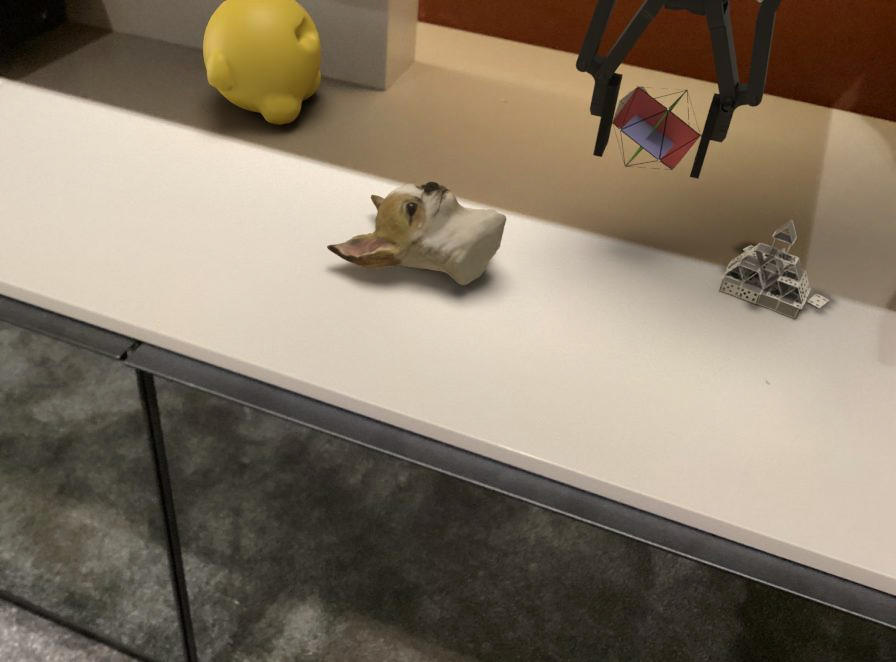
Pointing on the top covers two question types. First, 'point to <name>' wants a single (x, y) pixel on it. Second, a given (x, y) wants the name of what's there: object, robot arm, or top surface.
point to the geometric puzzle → (654, 127)
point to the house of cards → (771, 277)
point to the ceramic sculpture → (427, 234)
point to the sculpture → (263, 56)
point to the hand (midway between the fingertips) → (647, 159)
